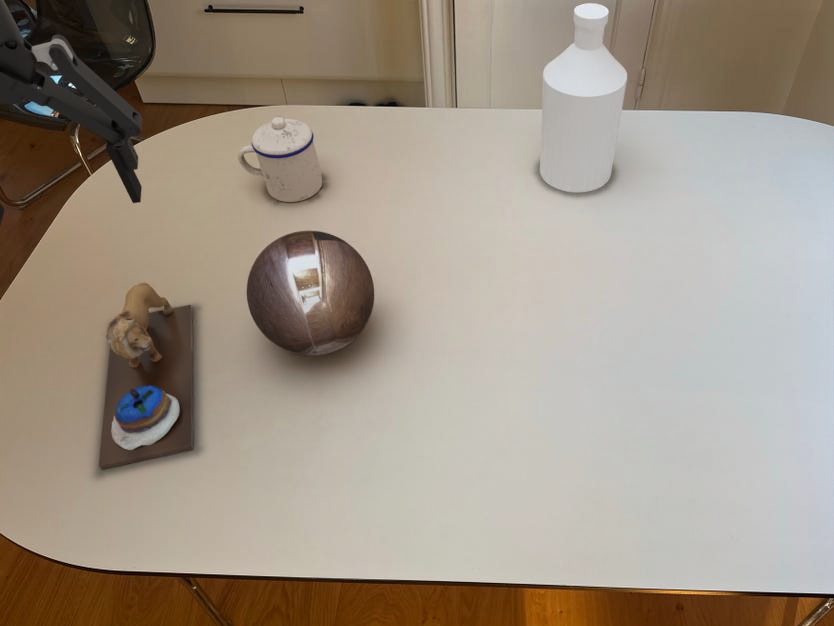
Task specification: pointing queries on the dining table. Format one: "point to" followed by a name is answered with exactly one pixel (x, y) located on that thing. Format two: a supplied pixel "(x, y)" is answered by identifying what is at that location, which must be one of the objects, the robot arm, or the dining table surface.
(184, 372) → the walnut board
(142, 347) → the lion figurine
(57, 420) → the dining table surface
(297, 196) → the teacup with lid
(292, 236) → the wooden sphere
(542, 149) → the bottle
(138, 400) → the dessert
